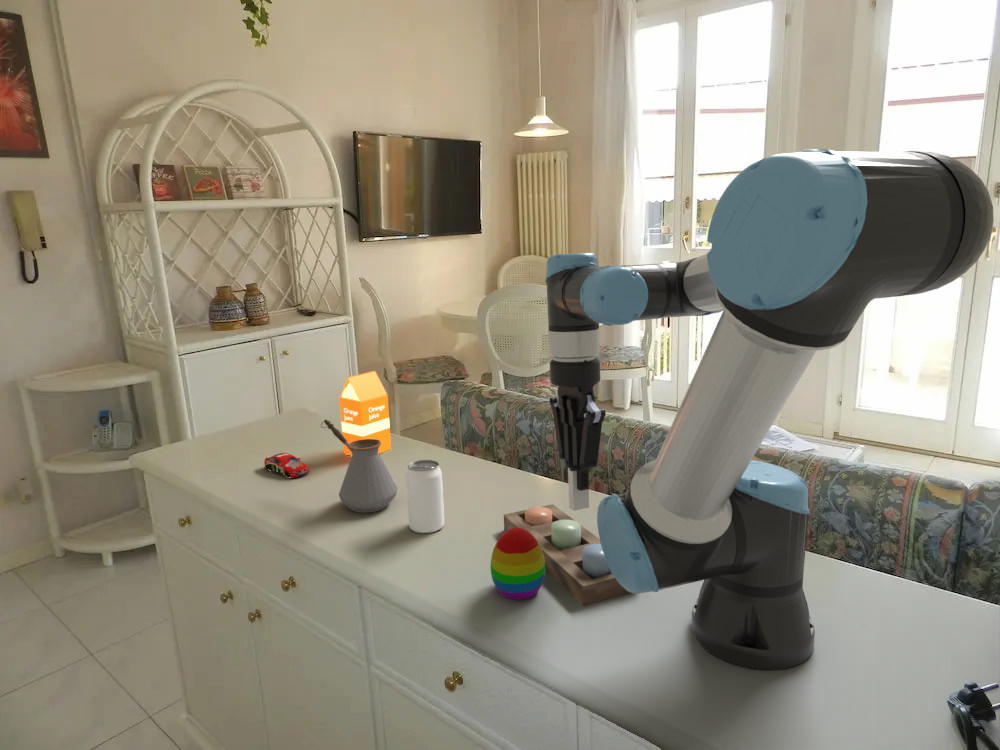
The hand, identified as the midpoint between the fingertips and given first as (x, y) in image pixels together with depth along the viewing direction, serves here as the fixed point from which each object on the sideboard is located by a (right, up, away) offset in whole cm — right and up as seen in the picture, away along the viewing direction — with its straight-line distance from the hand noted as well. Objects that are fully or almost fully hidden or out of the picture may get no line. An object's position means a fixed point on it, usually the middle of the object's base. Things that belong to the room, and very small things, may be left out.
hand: (579, 507), depth 106 cm
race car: (-62, -2, +52) cm, 80 cm away
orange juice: (-45, +1, +63) cm, 77 cm away
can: (-26, -8, +20) cm, 33 cm away
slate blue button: (+3, -9, -3) cm, 10 cm away
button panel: (-1, -9, +6) cm, 11 cm away
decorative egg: (-9, -12, -3) cm, 16 cm away
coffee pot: (-42, -5, +34) cm, 54 cm away
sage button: (-1, -8, +6) cm, 10 cm away
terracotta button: (-5, -7, +15) cm, 18 cm away
